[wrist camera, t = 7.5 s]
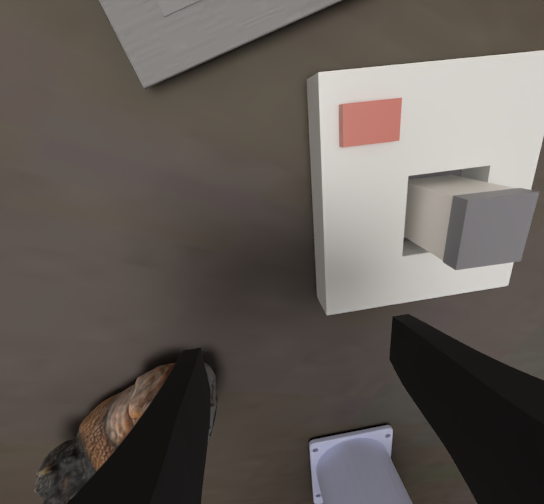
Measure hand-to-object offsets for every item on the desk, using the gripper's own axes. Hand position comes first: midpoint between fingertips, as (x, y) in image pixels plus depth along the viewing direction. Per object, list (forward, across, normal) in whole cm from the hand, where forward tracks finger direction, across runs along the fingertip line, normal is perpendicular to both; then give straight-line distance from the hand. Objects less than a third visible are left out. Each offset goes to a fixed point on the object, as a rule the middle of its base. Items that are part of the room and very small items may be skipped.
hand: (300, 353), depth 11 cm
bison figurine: (+10, +11, +11) cm, 18 cm away
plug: (+10, -11, -2) cm, 15 cm away
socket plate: (+10, -10, -3) cm, 14 cm away
